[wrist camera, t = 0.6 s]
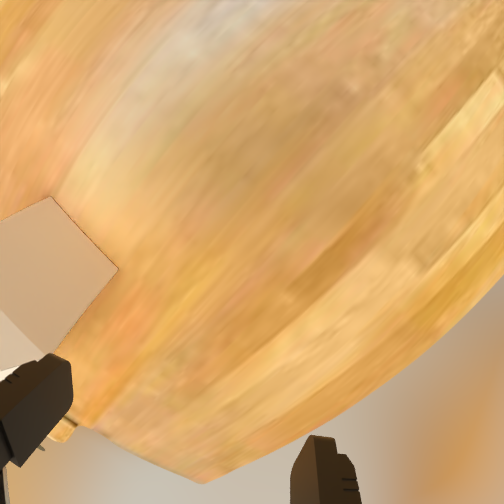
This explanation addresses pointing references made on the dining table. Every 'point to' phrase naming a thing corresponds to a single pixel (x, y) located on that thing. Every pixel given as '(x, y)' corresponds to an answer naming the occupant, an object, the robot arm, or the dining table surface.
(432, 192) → the dining table surface
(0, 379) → the gable box
